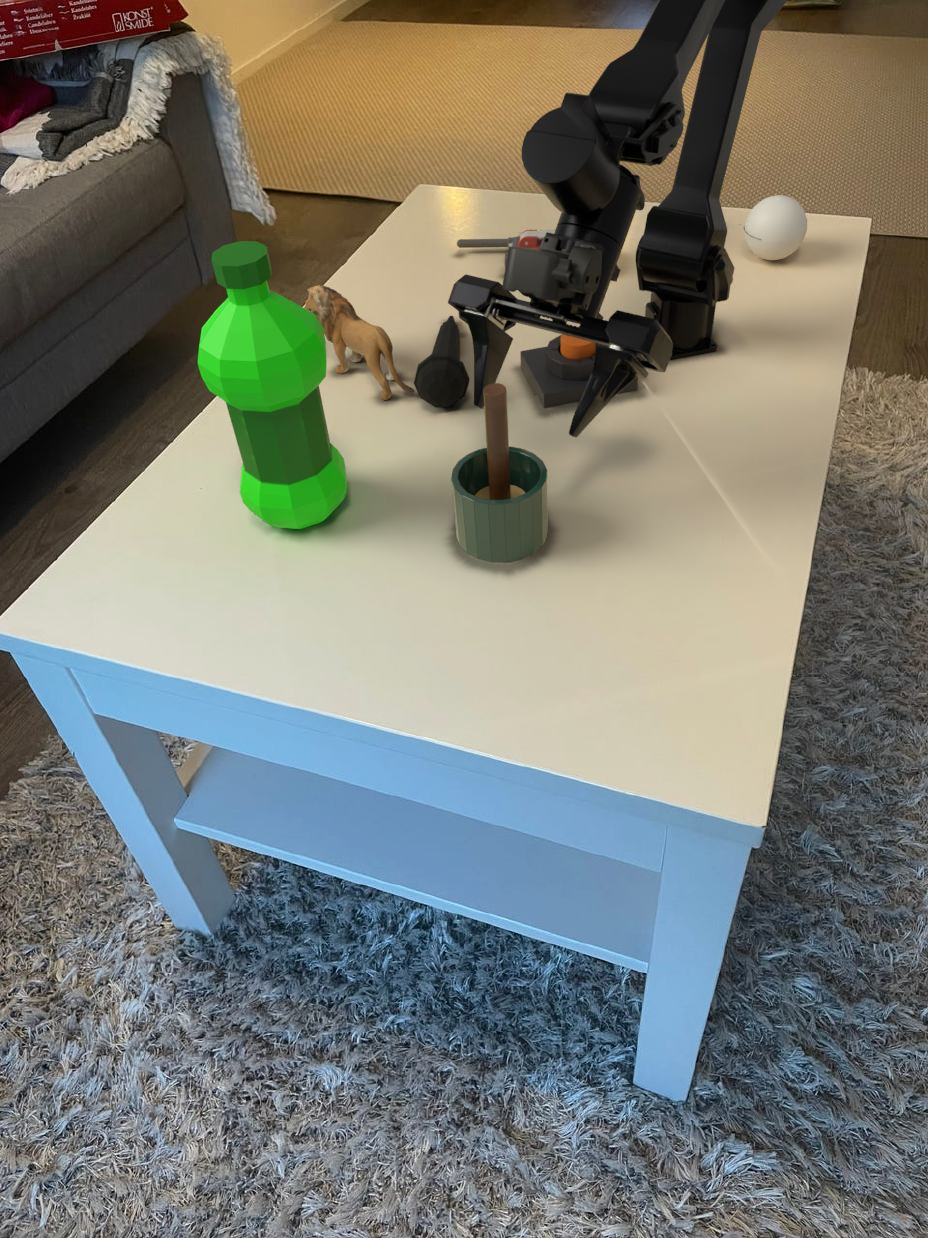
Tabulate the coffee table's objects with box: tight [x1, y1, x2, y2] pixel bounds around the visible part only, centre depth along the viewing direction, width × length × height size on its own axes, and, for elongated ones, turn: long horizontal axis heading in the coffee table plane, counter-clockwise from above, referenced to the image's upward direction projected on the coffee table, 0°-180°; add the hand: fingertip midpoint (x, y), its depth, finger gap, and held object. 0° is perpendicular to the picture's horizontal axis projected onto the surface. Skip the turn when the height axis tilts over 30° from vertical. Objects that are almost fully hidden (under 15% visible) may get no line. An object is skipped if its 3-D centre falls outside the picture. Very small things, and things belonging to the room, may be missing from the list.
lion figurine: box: [303, 284, 416, 401], centre depth 103 cm, size 15×5×9 cm, turn 50°
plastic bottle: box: [197, 240, 348, 530], centre depth 81 cm, size 10×10×25 cm
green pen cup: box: [450, 445, 549, 564], centre depth 83 cm, size 8×8×7 cm
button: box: [560, 334, 596, 359], centre depth 99 cm, size 4×4×2 cm
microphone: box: [413, 315, 470, 408], centre depth 105 cm, size 6×6×20 cm
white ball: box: [726, 194, 808, 261], centre depth 117 cm, size 10×7×7 cm
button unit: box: [519, 334, 639, 409], centre depth 101 cm, size 10×9×4 cm
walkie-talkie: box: [456, 228, 556, 269], centre depth 120 cm, size 9×4×20 cm
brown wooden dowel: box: [475, 382, 525, 500], centre depth 80 cm, size 5×5×14 cm
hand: (524, 421), depth 81 cm, fingers open, 9 cm apart
